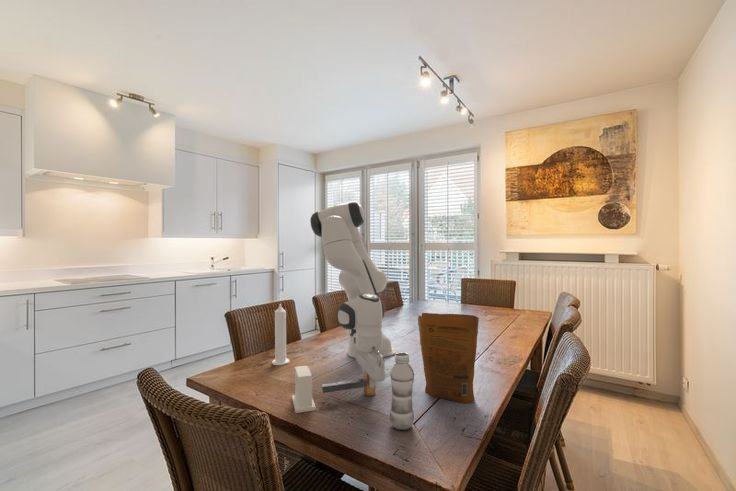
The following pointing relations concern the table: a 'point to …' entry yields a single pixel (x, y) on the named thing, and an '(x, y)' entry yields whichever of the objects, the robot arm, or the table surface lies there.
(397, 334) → the table surface
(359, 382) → the wooden mallet
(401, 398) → the plastic bottle
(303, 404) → the block
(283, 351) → the candle
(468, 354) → the pancake mix bag
